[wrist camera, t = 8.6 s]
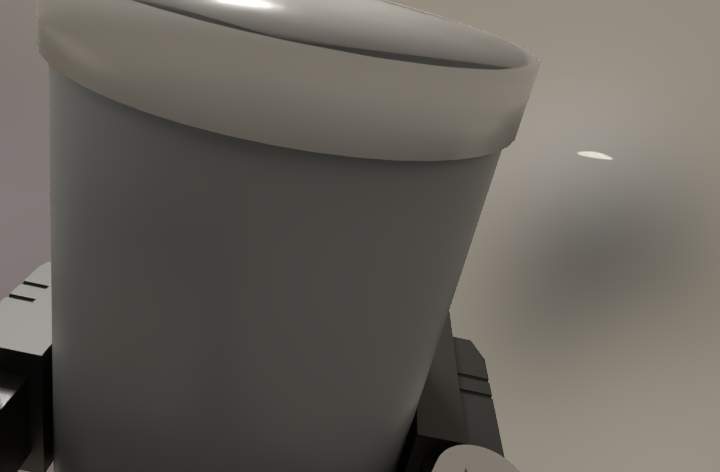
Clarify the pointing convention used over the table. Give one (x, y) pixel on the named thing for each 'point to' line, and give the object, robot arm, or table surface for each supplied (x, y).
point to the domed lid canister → (260, 224)
